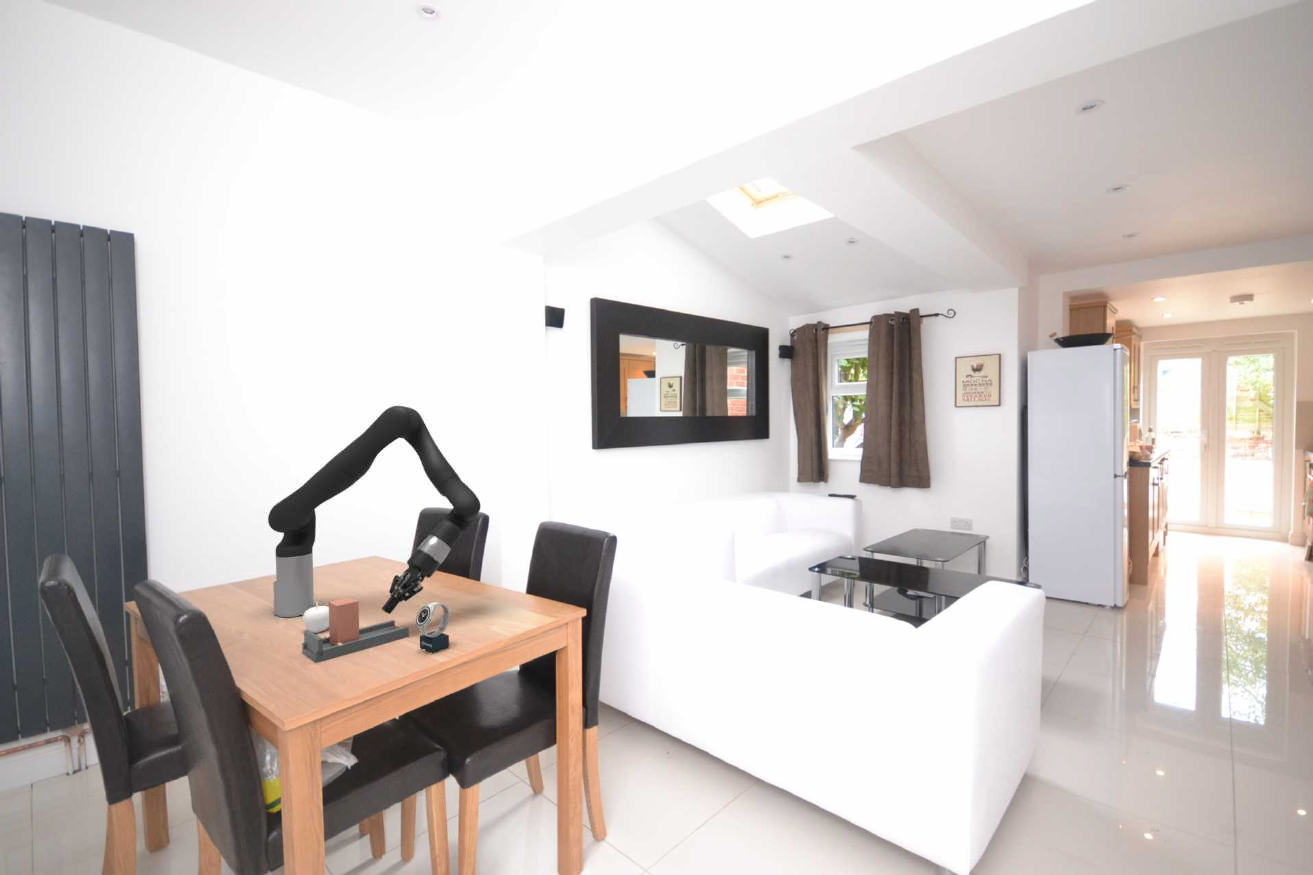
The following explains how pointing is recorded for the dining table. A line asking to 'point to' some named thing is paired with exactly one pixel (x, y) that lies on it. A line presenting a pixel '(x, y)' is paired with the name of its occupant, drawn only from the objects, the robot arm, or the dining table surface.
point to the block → (343, 620)
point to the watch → (436, 638)
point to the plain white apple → (316, 618)
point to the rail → (368, 637)
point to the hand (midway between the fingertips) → (385, 611)
